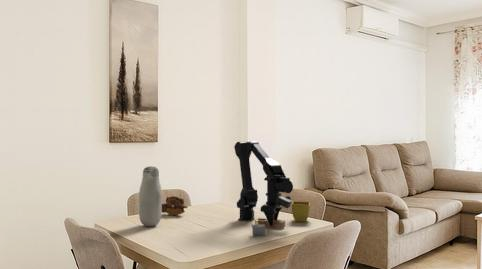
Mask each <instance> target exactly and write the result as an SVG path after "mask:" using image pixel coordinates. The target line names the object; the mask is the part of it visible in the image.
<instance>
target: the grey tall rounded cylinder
mask: <svg viewBox="0 0 482 269" xmlns="http://www.w3.org/2000/svg"><path fill="white" fill-rule="evenodd" d="M162 199H163V191H162V186H161V182H160V171H159V169H158V168H157V167H156V166H151V165H149V166H146V167H145V168H144V169H143V171H142V180H141V184H140V186H139V191H138V215H139V220H140V221H139V222H140V223H141V225H143V226H144V227H156V226H157V225H159V223H160V222H161V219H162V204H163V203H162V202H163V200H162Z"/></svg>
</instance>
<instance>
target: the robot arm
mask: <svg viewBox="0 0 482 269" xmlns="http://www.w3.org/2000/svg"><path fill="white" fill-rule="evenodd" d="M233 148H234V153H235V155H236V157H237V158H238V159H239V165H240V166H239V167H240V175H241V184H242V189H241V191H240V193H239V196H240V197H239V200H237V202H236V208H238V209H239V218H238V221H245V222H247V221H248V222H252V221H253V220H256V219H255V209H254V208H256V207H257V204H258V199H259V196H258V189H255V188H254V186H253V180H252V179H253V178H252V170H251V163H250V162H251V161H250V157H251V155H252V154H253V155H254V156H255V158H256V159H257V160H258V162H259V163H260V164H261V165H262V170H263V172H264V174H265V176H266V177H265V178H264V179H263V180H264V181H266V189H267V190H266V193H265V196H266V202H265V203H264V204H262V205H261V206H260V212H261V213H263V214H264V216H265V219H267V220H268V222H269V224H270V226H272V225H273V220H279V219H278V217H279V214H280V211H282V210H283V209H284V208H285V209H289V208H290V207H291V206H292V202H293V200H292V197H291V196H290V195H287V196H286V197H285V196H282V193H285V194H290V193H292V191H293V189H294V184H293V182H292V181H291V178H290V177H286V174H285V172H284V170H283V168H282V166H281V164H279V163H278V161H277V160H273V159H272V158H271V157H270V156H269V155H268V154H267V152H266V151H265V150H264V148H262V146H261V145H260V143H259V142H258V141H257V140H255V141H237V142H236V143H235V144H234V146H233Z"/></svg>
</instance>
